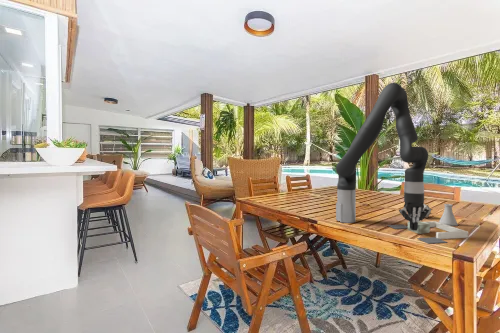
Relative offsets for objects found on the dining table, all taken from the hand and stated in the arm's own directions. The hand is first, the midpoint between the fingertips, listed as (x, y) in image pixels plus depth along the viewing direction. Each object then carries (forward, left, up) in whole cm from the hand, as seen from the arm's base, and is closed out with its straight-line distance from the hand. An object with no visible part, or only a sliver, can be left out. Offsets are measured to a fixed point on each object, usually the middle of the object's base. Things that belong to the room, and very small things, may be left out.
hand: (413, 230), depth 112 cm
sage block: (+4, +3, -2) cm, 6 cm away
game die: (+25, +25, -2) cm, 36 cm away
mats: (0, 0, -2) cm, 2 cm away
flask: (+27, +11, -2) cm, 29 cm away
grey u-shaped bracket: (+11, 0, -2) cm, 11 cm away
